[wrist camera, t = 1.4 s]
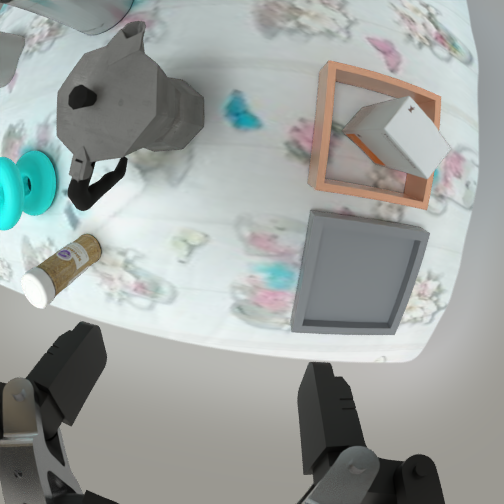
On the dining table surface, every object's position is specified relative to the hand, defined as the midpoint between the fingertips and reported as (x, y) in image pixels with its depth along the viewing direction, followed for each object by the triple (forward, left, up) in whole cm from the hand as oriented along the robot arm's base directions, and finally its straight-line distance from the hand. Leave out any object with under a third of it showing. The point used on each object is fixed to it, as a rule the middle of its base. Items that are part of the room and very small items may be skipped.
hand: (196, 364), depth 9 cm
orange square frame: (-11, +14, -25) cm, 30 cm away
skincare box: (-11, +14, -25) cm, 31 cm away
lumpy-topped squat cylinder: (-27, -47, -25) cm, 60 cm away
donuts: (-3, -32, -25) cm, 41 cm away
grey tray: (+7, +16, -25) cm, 30 cm away
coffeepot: (-10, -10, -25) cm, 29 cm away
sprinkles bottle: (+7, -22, -25) cm, 34 cm away
